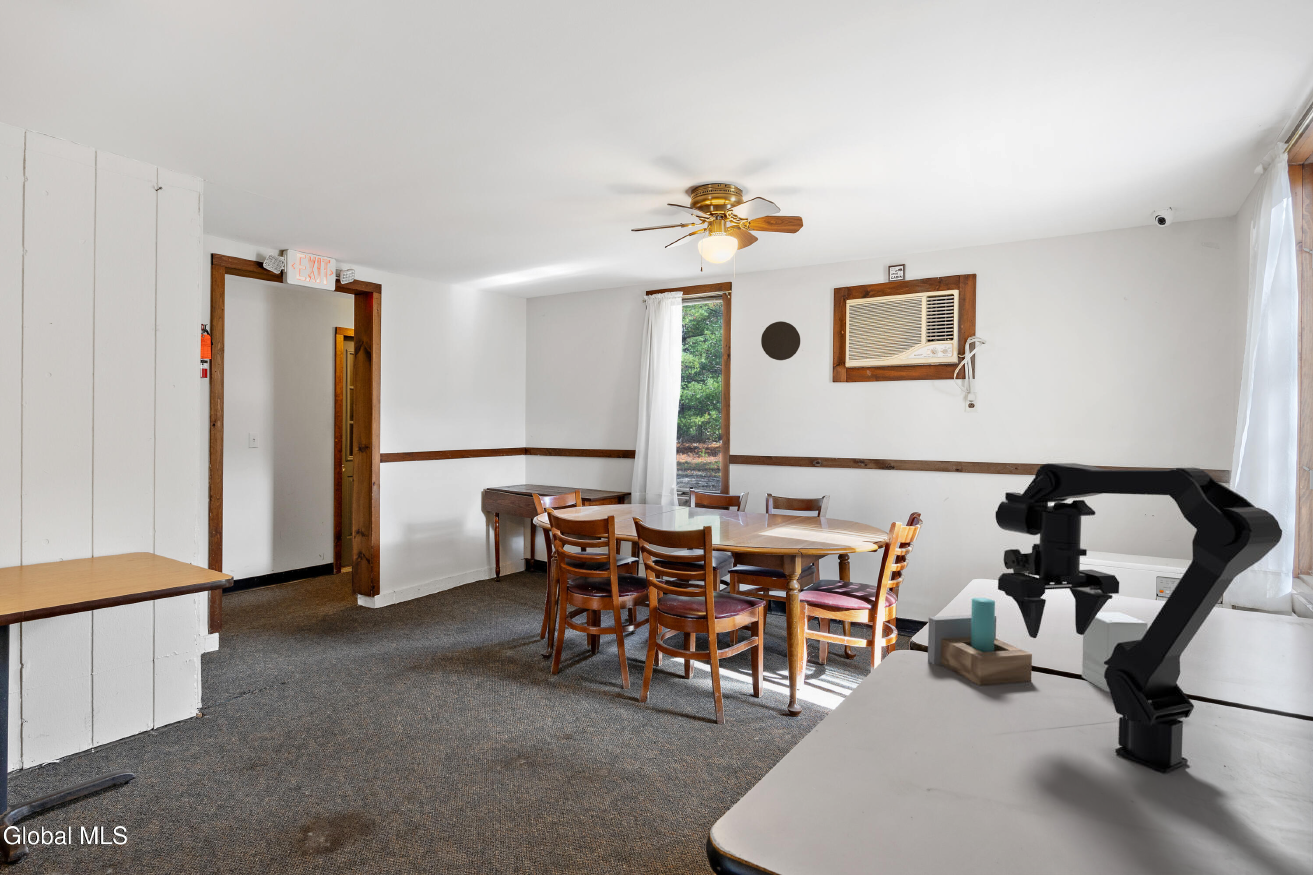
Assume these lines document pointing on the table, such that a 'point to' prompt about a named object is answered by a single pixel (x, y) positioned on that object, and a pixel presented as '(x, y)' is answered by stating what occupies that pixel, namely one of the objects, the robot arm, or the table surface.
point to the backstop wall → (947, 633)
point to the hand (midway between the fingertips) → (1056, 635)
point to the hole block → (986, 662)
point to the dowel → (983, 624)
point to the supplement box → (1107, 642)
